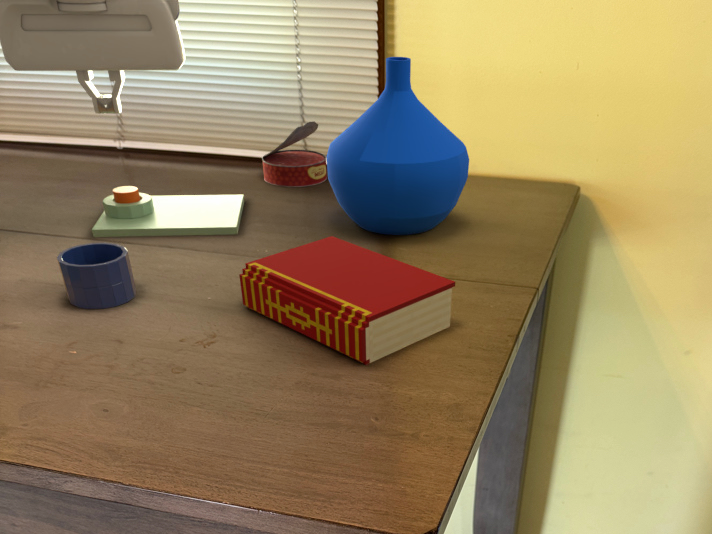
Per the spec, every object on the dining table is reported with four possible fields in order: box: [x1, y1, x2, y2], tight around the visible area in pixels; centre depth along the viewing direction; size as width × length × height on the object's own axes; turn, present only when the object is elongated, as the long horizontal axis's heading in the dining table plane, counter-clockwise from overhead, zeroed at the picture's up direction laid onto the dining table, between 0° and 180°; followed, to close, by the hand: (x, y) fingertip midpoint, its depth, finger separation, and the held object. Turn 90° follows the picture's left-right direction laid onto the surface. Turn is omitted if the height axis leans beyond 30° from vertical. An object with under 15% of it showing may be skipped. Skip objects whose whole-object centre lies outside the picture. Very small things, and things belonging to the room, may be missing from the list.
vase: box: [325, 56, 470, 236], centre depth 96 cm, size 18×18×19 cm
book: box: [238, 235, 456, 366], centre depth 77 cm, size 18×13×5 cm
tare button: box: [112, 185, 140, 204], centre depth 99 cm, size 3×3×2 cm
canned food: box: [261, 121, 328, 188], centre depth 116 cm, size 11×10×10 cm
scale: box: [91, 192, 245, 238], centre depth 101 cm, size 18×14×3 cm
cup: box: [56, 242, 137, 310], centre depth 80 cm, size 7×7×5 cm
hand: (109, 112), depth 93 cm, fingers closed
